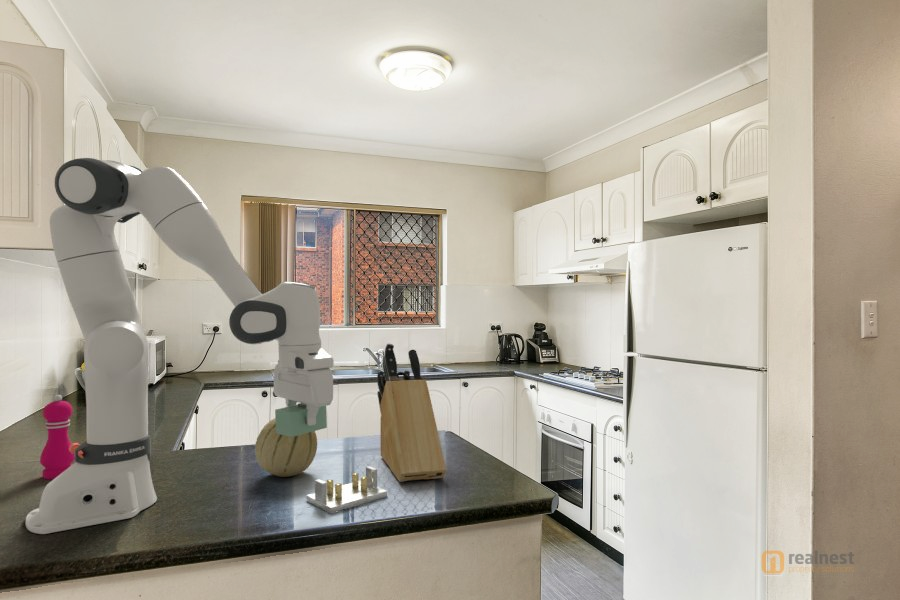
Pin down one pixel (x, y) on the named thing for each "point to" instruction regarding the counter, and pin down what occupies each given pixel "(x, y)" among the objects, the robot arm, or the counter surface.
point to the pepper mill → (57, 438)
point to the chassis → (346, 492)
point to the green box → (298, 420)
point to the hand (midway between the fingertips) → (302, 422)
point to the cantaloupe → (284, 451)
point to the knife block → (408, 422)
